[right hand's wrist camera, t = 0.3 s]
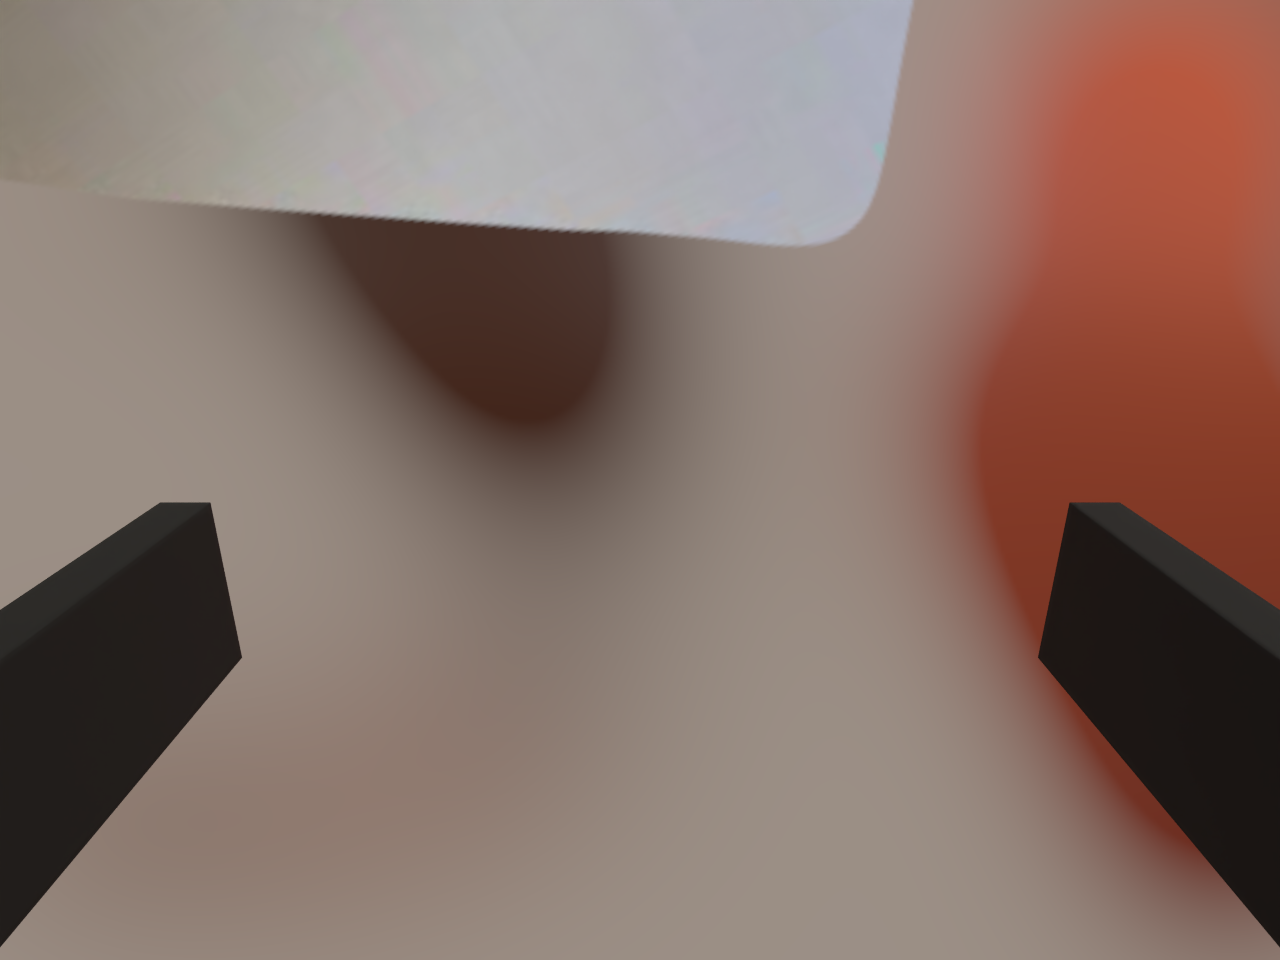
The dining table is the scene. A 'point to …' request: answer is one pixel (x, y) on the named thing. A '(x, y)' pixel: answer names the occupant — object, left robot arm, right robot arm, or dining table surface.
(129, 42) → the dining table surface
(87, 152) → the dining table surface
